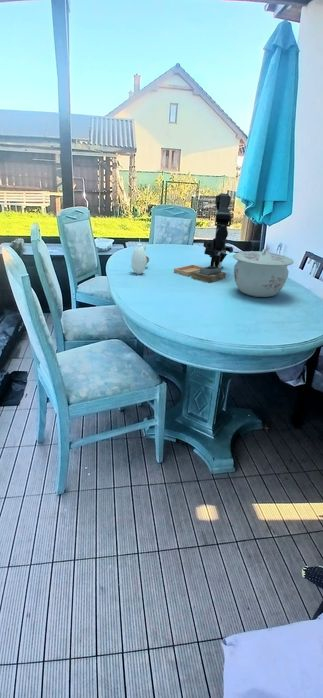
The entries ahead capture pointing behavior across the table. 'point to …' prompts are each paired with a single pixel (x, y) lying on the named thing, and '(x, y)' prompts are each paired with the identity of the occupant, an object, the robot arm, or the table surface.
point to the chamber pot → (261, 272)
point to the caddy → (211, 270)
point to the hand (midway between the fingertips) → (217, 266)
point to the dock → (208, 278)
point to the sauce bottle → (139, 259)
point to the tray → (187, 270)
